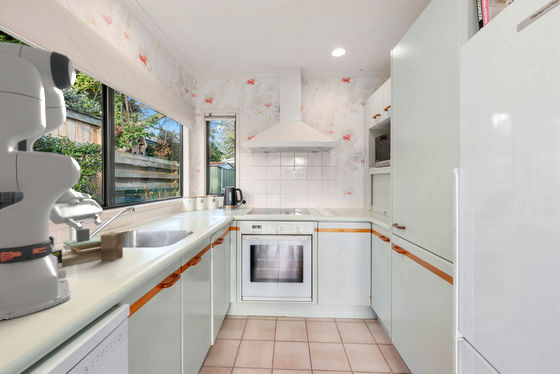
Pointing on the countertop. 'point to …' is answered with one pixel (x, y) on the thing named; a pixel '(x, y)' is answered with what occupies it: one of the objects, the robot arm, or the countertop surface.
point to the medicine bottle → (56, 250)
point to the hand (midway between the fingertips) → (89, 226)
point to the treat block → (111, 246)
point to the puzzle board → (81, 254)
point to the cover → (82, 239)
